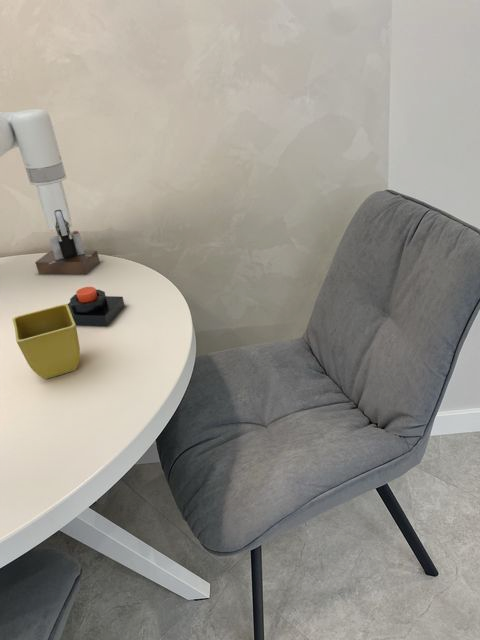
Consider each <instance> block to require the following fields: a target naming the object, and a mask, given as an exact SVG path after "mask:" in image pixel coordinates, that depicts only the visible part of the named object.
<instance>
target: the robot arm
mask: <svg viewBox="0 0 480 640" xmlns="http://www.w3.org/2000/svg"><path fill="white" fill-rule="evenodd" d="M16 148H18V149H19V151H20V155H21V159H22V162H23V165H24V169H25V171H26V175H27V178H28V180H29V184H30V186H31V185H32V186H35V187H36V191H37V192H36V193H37V195H38V199H39V203H40V205H41V209H42V212H43V215H44V218H45V221H46V224H47V228H48V231H50V232H53V231H54V230H55V232H56V236H58V237H59V241H58V242H59V245H60V248H61V252H62V255H63V258H69V257H73V256H77V250H76V247H75V243H74V240H73V238H72V236H71V233H72V232H71V230H70V228H71V227H72V219H71V213H70V209H69V204H68V201H67V197H66V193H65V189H64V185H63V182H62V181H65V180H66V179H67V174H66V171H65V167H64V164H63V160H62V156H61V152H60V149H59V145H58V142H57V137H56V134H55V129H54V127H53V122H52V119H51V116H50V114H49V113H48V112H47V111H46V110H45V109H42V108H34V109H25V110H20V111H15V112H10V111H0V158H2V157H3V156H5V154H7V153H8V152H10V151H11V150H13V149H16ZM69 238H70V239H69Z"/></svg>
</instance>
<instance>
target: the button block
mask: <svg viewBox="0 0 480 640" xmlns="http://www.w3.org/2000/svg"><path fill="white" fill-rule="evenodd" d="M96 292H97V296H98V297H97V298H96V299H94V300H92V301H89V302H79V301H78V298H77V294H76V293H75V294H74V295H72V296H71V297H70V298H69V302H68V303H66V304H67V305H68V306H69V309H70V312H71V314H72V317H73V320H74V322H75V324H76V327H78V326H79V327H80V326H82V327H108V326H110V324H111V323H112V322H113V321H114V320H115V318H116V317H118V315H119V314H120V313H121V311H123V309H124V308H125V307H126V305H125V301H124V300H125V299H124V297H123V296H117V295H116V296H113V295H111V296H109V295H106V292H105V291H104V290H101V289H96Z"/></svg>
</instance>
